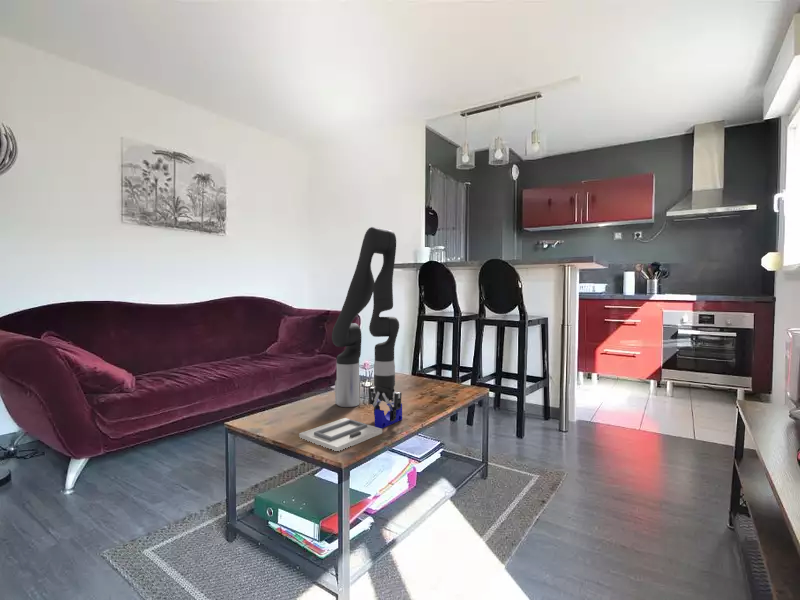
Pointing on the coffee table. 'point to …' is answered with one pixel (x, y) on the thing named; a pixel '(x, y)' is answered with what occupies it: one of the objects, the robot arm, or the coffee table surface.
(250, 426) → the coffee table surface
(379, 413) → the cable clip
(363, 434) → the board
